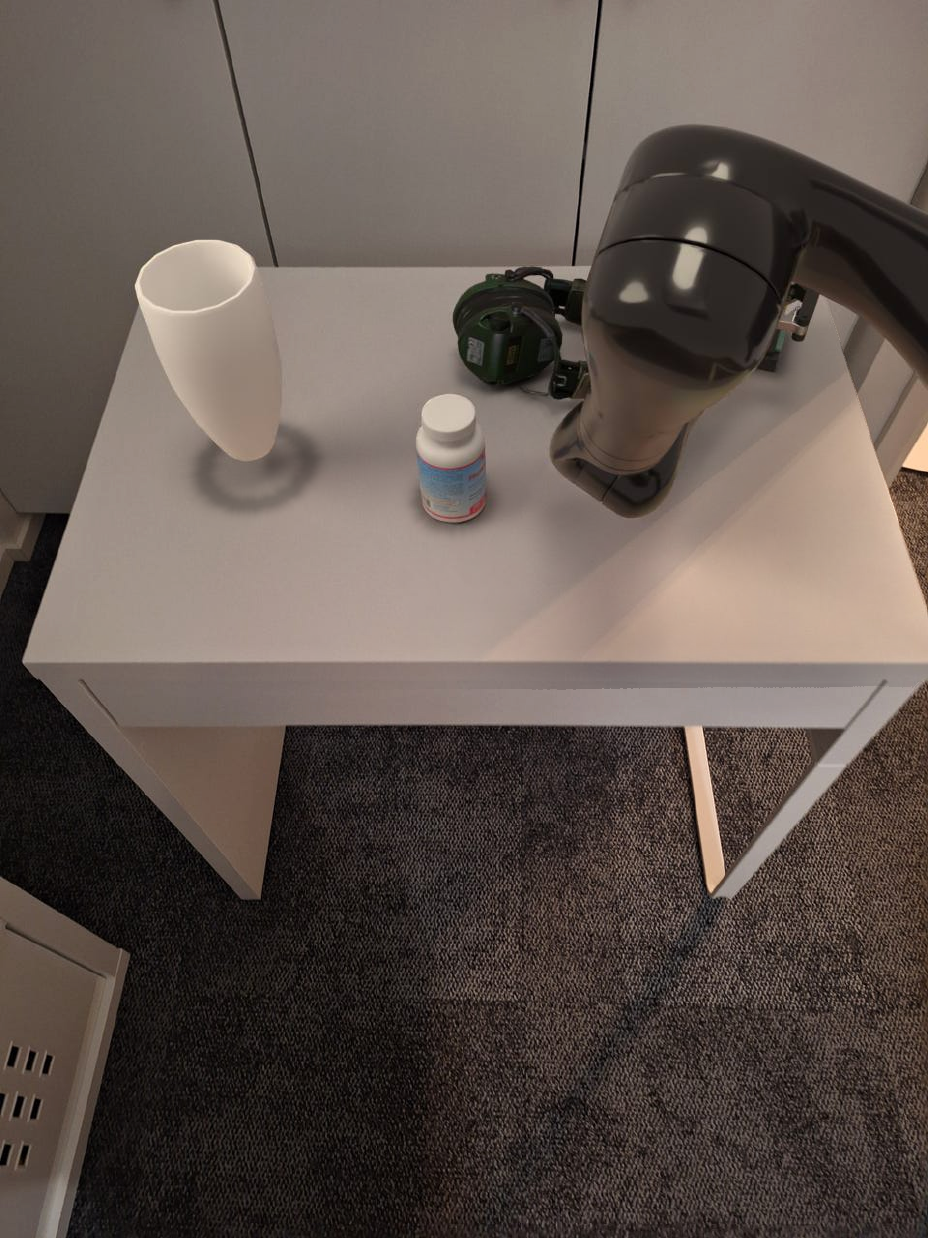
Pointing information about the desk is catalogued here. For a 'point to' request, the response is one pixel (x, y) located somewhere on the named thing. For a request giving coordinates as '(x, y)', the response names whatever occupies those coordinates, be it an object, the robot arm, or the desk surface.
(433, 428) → the pill bottle
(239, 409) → the cup
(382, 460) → the desk surface
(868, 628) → the desk surface
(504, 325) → the headphones
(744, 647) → the desk surface
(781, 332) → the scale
